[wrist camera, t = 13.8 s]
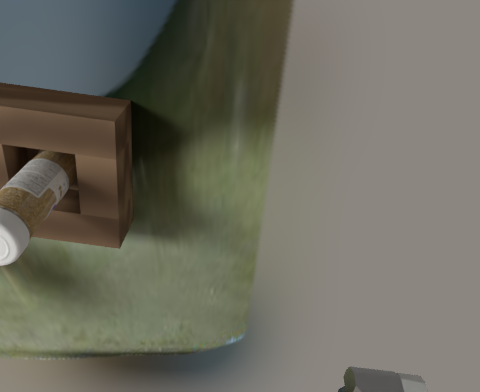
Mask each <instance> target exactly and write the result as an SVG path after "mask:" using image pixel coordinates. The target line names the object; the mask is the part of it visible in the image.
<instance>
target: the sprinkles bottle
mask: <svg viewBox="0 0 480 392" xmlns="http://www.w3.org/2000/svg"><path fill="white" fill-rule="evenodd" d="M76 180H77V169H76V159H75V154H69V153H62V152H55V151H48V150H40V151H39V153H38V154H37V155H36V156H35V157H34V158H33V159H32V160H31V161H29V162H28V163H27V164H26V165H25V166H24V167H23V168H22V169H21V170H20V171H19V172H18V173H17V174H16V175H15V176H14V177H13V178H12V179H11V180H10V181H9V182H8V183H7V184H6V185H5V186H4V187H3V188H2V189H1V190H0V266H3V265H8V264H11V263H13V262H14V261H16V260H17V259H18V258H19V256H20V255H21V254H22V253H23V251H24V250H25V249H26V247H27V246H28V244H29V240H30V238H31V237H32V235H33V234H34V232H35V231H36V230H37V229H38V228H39V226H40V225H41V224H42V222H43V221H44V220H45V219H46V218H47V217H48V215H49V214H50V213H51V212H52V210H53V209H54V208H55V206H56V205H57V204H58V203H59V201H60V200H61V199H62V198H63V196H64V195H65V194H66V192H67V191H68V189H69V187H70V186H71V185H72V184H73V182H74V181H76Z"/></svg>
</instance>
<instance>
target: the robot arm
mask: <svg viewBox="0 0 480 392" xmlns="http://www.w3.org/2000/svg"><path fill="white" fill-rule="evenodd" d="M344 383H345V386H344V387H342V388H340V389H339V390H338V392H428V390H427V387H426V384H425V381H424V380H423V379H422V377H421V376H418V375H410V374H402V373H395V372H392V371H383V370H375V369H366V368H357V367H349V368H348V369H347V370H346V372H345V375H344Z"/></svg>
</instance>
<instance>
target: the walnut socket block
mask: <svg viewBox="0 0 480 392" xmlns="http://www.w3.org/2000/svg"><path fill="white" fill-rule="evenodd" d="M40 150H48V151H55V152H62V153H69V154H75V159H76V169H77V180H76V181H74V182H73V184H72V185H71V186H70V187H69V189H68V191H67V192H66V194H65V195H64V196H63V198H62V199H61V200H60V201H59V203H58V204H57V205H56V206H55V208H54V209H53V210H52V212H51V213H50V214H49V215H48V217H47V218H46V219H45V220H44V221H43V222H42V224H41V225H40V226H39V228H38V229H37V230H36V231H35V232H34V234H33V235H32V237H39V238H46V239H53V240H61V241H68V242H75V243H83V244H90V245H97V246H105V247H112V248H119V249H120V247H121V245H122V243H123V241H124V238H125V236H126V234H127V232H128V230H129V228H130V226H131V223H132V221H133V185H132V130H131V101H130V100H123V99H115V98H108V97H101V96H94V95H86V94H79V93H72V92H64V91H57V90H49V89H42V88H35V87H28V86H20V85H14V84H6V83H0V190H1V189H2V188H3V187H4V186H5V185H6V184H7V183H8V182H9V181H10V180H11V179H12V178H13V177H14V176H15V175H16V174H17V173H18V172H19V171H20V170H21V169H22V168H23V167H24V166H25V165H26V164H27V163H28V162H29V161H31V160H32V159H33V158H34V157H35V156H36V155H37V154H38V153H39V151H40Z"/></svg>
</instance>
